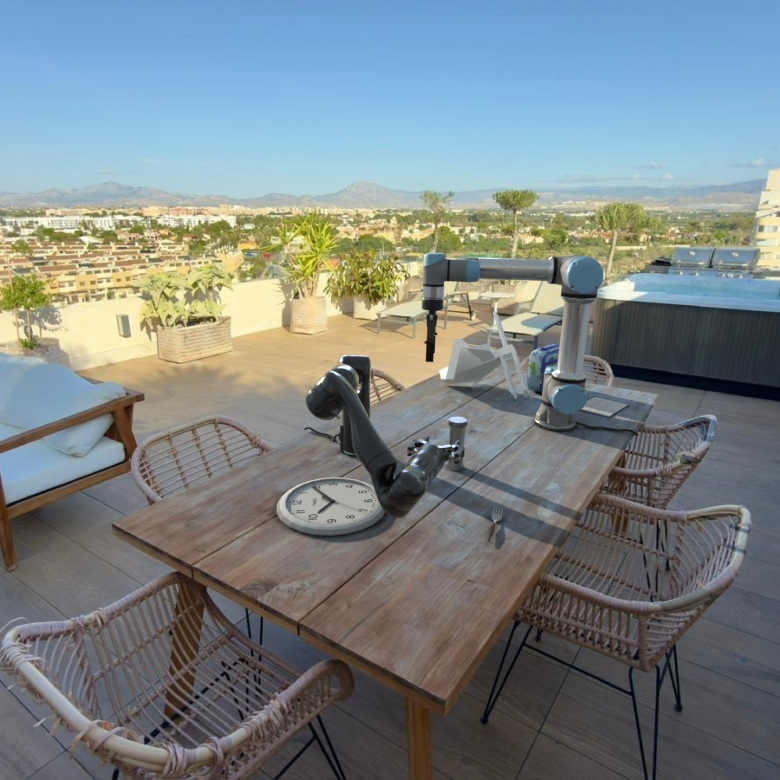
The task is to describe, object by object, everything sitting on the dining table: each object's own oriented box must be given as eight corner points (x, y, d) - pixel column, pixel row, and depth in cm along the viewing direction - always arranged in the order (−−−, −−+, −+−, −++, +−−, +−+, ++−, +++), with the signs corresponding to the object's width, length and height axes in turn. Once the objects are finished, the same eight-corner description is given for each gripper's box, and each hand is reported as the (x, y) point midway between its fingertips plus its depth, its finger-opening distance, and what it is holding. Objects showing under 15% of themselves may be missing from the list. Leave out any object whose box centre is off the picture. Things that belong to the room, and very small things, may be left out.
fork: (482, 542, 127) (483, 535, 126) (493, 511, 141) (494, 504, 140) (493, 545, 126) (494, 538, 125) (503, 513, 140) (503, 506, 140)
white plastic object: (461, 429, 252) (437, 405, 227) (444, 352, 274) (420, 323, 250) (535, 404, 240) (518, 377, 215) (510, 326, 262) (492, 293, 237)
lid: (469, 428, 160) (469, 422, 159) (450, 428, 159) (450, 423, 159) (464, 421, 165) (465, 416, 165) (446, 421, 165) (447, 416, 164)
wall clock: (392, 527, 129) (268, 531, 127) (391, 533, 130) (269, 537, 127) (383, 473, 158) (282, 475, 155) (383, 478, 158) (282, 480, 156)
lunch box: (543, 396, 238) (548, 352, 231) (522, 391, 245) (526, 347, 239) (570, 385, 255) (575, 343, 249) (550, 381, 262) (555, 340, 256)
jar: (464, 470, 165) (467, 423, 160) (449, 471, 164) (452, 423, 159) (460, 464, 169) (463, 418, 164) (446, 464, 169) (449, 418, 164)
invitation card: (608, 416, 214) (573, 407, 224) (608, 416, 214) (573, 408, 224) (628, 404, 229) (594, 396, 238) (628, 405, 229) (594, 397, 238)
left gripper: (397, 473, 131) (417, 450, 145) (453, 483, 126) (468, 457, 140) (398, 446, 129) (418, 424, 143) (454, 454, 124) (469, 431, 138)
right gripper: (424, 293, 195) (422, 349, 202) (419, 302, 172) (417, 365, 178) (444, 294, 195) (441, 350, 201) (442, 303, 171) (439, 366, 177)
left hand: (443, 441), depth 142 cm, fingers open, 8 cm apart
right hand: (430, 357), depth 190 cm, fingers open, 13 cm apart
